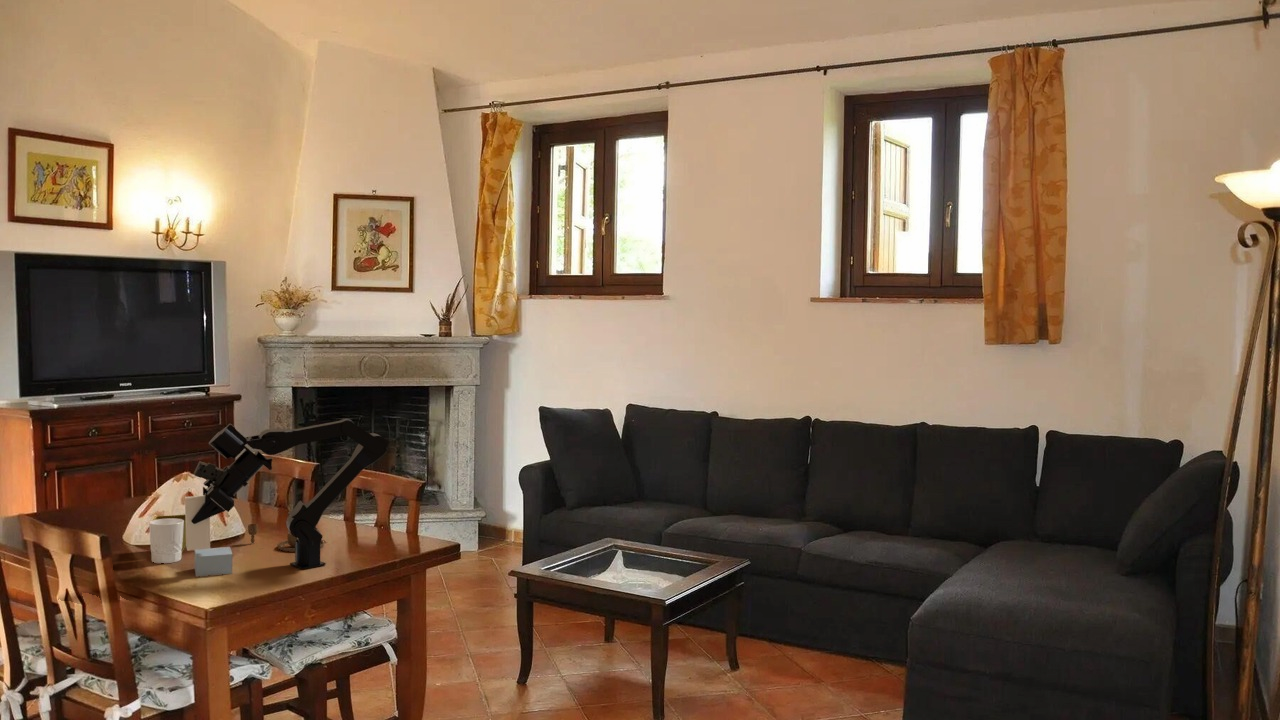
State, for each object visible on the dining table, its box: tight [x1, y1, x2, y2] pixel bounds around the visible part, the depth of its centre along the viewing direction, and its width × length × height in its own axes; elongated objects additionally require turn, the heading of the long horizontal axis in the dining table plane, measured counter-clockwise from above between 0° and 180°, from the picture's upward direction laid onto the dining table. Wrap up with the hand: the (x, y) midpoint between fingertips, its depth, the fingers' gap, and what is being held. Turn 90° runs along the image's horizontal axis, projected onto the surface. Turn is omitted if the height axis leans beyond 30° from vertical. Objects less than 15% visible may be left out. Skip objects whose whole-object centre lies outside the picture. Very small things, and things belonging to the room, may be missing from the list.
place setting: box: [247, 523, 328, 553], centre depth 270 cm, size 18×20×6 cm
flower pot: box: [152, 514, 186, 553], centre depth 259 cm, size 9×9×9 cm
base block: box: [194, 546, 234, 578], centre depth 241 cm, size 8×8×5 cm
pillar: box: [184, 495, 211, 552], centre depth 237 cm, size 5×5×12 cm
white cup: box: [148, 518, 184, 564], centre depth 250 cm, size 8×8×10 cm
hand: (192, 520), depth 236 cm, fingers closed on pillar, 5 cm apart
